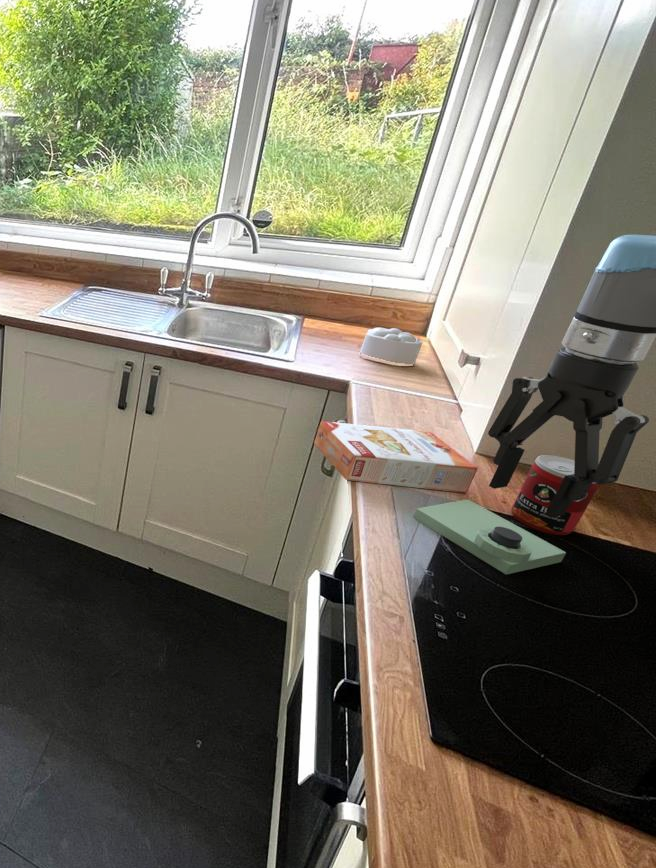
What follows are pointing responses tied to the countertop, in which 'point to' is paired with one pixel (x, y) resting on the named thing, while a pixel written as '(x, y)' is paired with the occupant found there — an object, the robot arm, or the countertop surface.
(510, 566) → the scale
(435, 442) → the cracker box
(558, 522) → the canned food
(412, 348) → the lumpy-topped squat cylinder
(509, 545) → the button
